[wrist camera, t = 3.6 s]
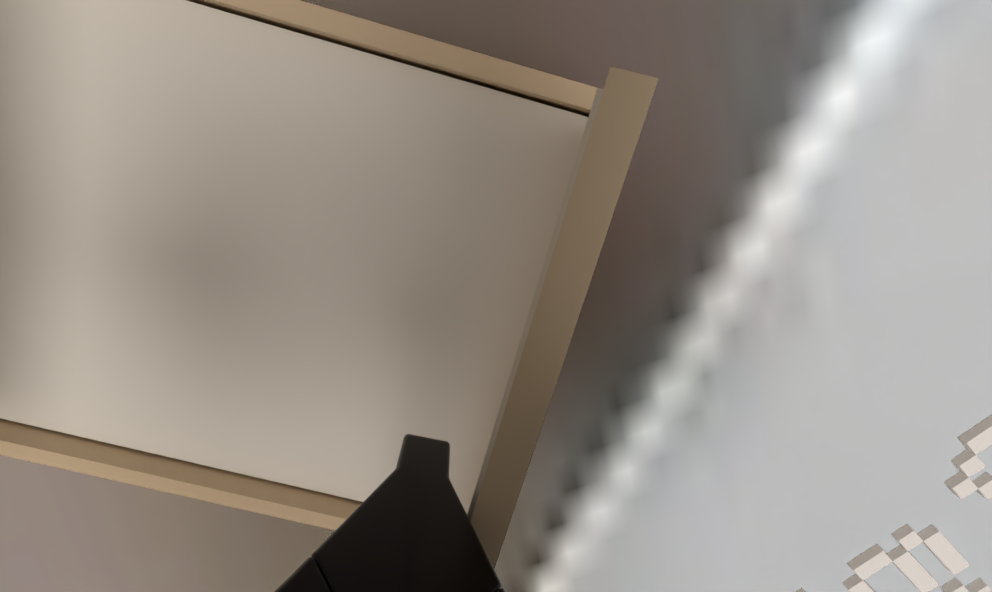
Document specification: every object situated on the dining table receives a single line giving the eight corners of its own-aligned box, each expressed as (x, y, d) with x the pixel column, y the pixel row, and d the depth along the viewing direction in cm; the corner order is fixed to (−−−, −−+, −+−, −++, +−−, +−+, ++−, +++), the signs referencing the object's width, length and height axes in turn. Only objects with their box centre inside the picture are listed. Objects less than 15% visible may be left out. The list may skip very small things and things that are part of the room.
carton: (489, 452, 22) (485, 564, 16) (55, 347, 20) (-121, 427, 15) (594, 111, 18) (639, 95, 12) (65, -42, 16) (-168, -144, 11)
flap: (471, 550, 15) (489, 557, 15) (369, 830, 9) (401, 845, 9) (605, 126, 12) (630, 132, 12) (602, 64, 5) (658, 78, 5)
